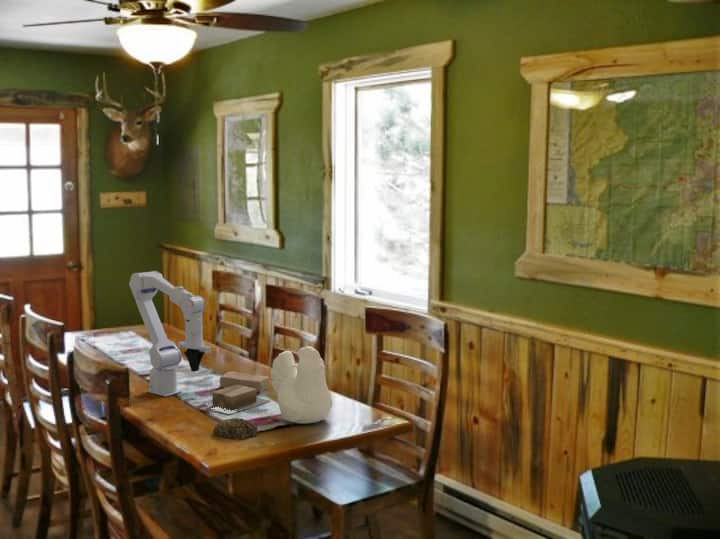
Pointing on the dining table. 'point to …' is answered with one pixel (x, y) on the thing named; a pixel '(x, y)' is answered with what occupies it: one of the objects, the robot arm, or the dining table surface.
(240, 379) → the brick
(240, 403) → the block
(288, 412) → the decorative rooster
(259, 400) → the spiral notebook
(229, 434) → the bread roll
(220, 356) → the dining table surface
